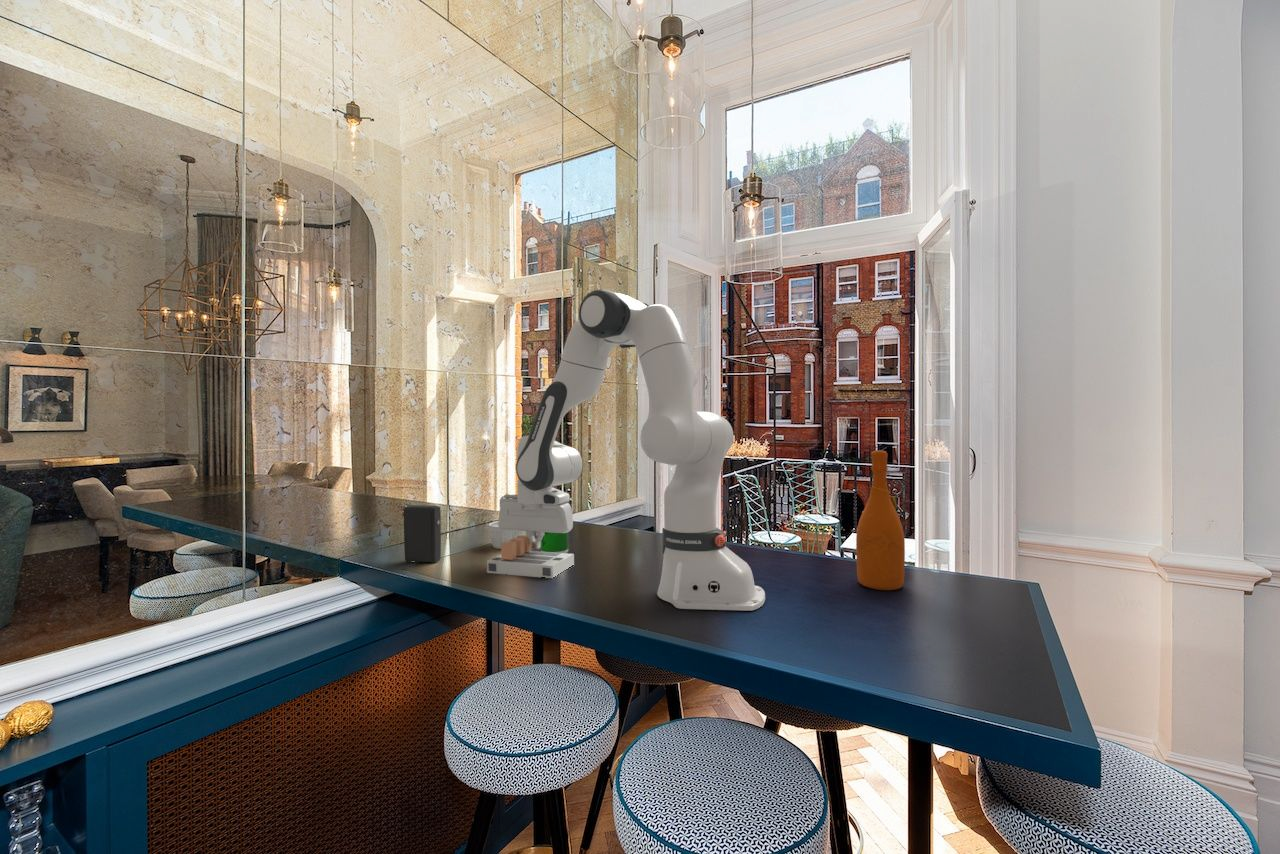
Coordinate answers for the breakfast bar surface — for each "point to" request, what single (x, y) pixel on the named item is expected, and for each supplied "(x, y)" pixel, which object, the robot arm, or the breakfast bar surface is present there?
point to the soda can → (554, 542)
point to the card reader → (422, 533)
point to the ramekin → (502, 534)
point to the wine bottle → (880, 534)
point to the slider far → (525, 542)
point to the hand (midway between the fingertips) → (535, 548)
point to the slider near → (508, 550)
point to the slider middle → (519, 546)
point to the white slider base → (532, 564)
